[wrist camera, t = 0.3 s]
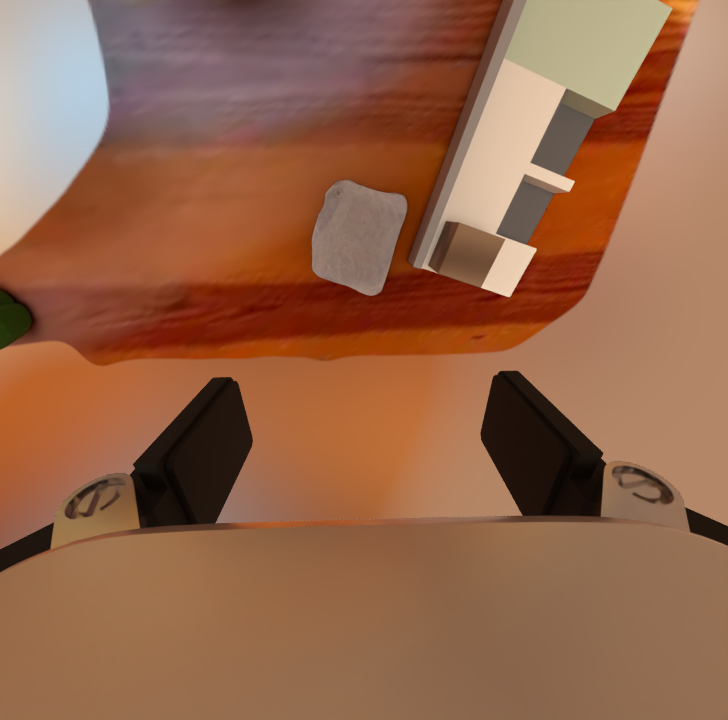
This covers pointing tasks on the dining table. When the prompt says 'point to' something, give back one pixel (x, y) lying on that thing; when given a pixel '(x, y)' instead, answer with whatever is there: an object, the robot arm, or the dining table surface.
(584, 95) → the box
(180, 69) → the dining table surface
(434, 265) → the walnut cube
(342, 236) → the stone block
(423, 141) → the dining table surface
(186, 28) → the dining table surface
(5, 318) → the bell pepper
